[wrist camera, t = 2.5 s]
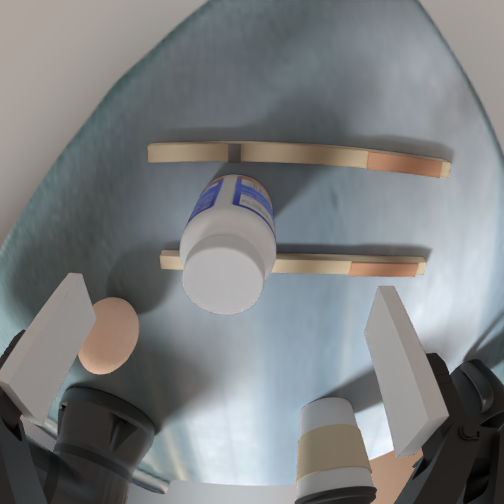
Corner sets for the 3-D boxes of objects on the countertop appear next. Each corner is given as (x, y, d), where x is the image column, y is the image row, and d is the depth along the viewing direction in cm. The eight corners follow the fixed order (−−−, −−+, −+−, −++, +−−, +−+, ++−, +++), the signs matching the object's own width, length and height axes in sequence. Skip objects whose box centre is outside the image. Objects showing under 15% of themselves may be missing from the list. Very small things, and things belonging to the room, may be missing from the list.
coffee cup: (373, 398, 36) (397, 503, 23) (335, 431, 40) (346, 524, 27) (313, 386, 34) (326, 508, 21) (278, 422, 39) (280, 525, 26)
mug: (489, 324, 30) (525, 383, 21) (488, 373, 35) (512, 423, 26) (432, 356, 32) (459, 421, 24) (440, 399, 37) (459, 452, 29)
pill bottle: (206, 242, 25) (180, 328, 17) (193, 176, 23) (153, 240, 14) (275, 236, 25) (281, 323, 17) (269, 168, 22) (274, 229, 14)
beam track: (164, 262, 26) (160, 270, 25) (151, 143, 21) (145, 147, 20) (419, 268, 26) (424, 276, 25) (444, 159, 21) (453, 164, 20)
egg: (159, 312, 29) (134, 380, 22) (126, 332, 31) (100, 395, 24) (119, 273, 27) (81, 337, 20) (88, 298, 29) (52, 358, 22)
